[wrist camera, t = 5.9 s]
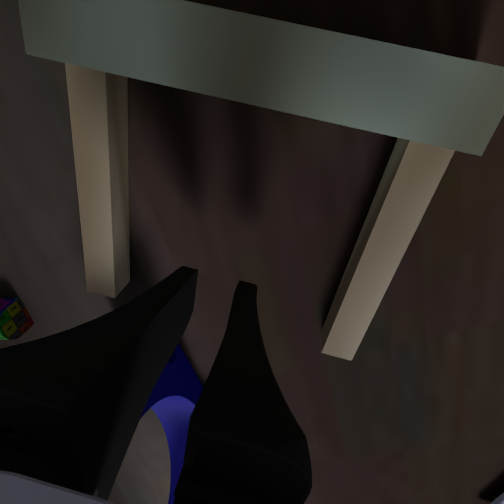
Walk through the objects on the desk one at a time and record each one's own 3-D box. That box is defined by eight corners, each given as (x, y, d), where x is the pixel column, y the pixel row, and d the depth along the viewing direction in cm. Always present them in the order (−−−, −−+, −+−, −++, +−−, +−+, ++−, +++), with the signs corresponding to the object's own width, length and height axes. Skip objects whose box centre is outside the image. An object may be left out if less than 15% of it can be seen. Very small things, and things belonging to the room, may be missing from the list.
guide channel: (475, 65, 11) (526, 72, 8) (349, 337, 17) (354, 392, 14) (86, -16, 11) (12, -36, 9) (104, 273, 18) (64, 314, 15)
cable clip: (260, 448, 24) (242, 558, 19) (201, 449, 25) (170, 552, 20) (191, 314, 18) (140, 415, 13) (122, 325, 20) (53, 420, 15)
